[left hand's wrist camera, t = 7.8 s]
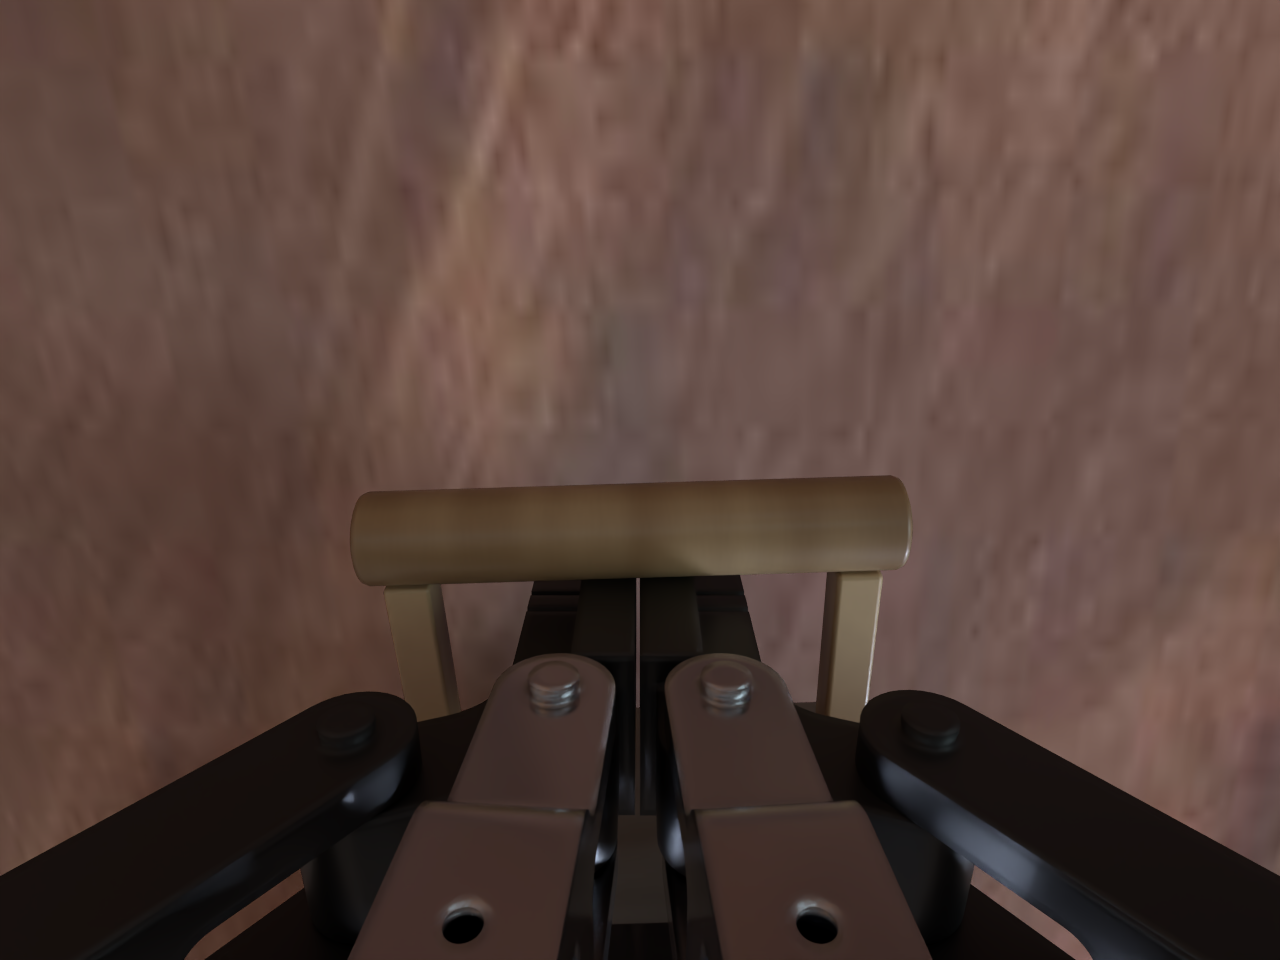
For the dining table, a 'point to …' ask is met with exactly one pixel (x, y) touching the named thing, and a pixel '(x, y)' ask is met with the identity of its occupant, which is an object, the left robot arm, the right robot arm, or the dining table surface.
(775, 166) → the dining table surface
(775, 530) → the drawer
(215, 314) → the dining table surface
